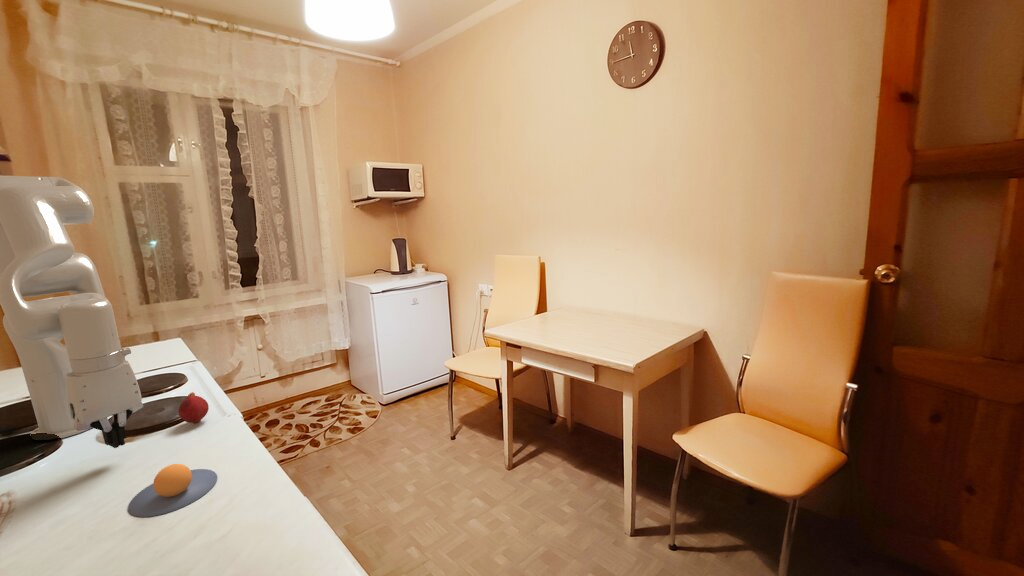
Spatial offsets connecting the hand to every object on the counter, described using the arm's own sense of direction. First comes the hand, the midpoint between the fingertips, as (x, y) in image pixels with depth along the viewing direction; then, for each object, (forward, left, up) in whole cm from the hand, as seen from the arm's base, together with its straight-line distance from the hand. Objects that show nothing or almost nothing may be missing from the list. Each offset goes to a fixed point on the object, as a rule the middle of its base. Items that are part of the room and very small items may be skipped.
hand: (116, 444), depth 88 cm
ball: (+23, -1, -1) cm, 23 cm away
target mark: (+22, -1, -4) cm, 22 cm away
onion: (-3, +16, -4) cm, 17 cm away
